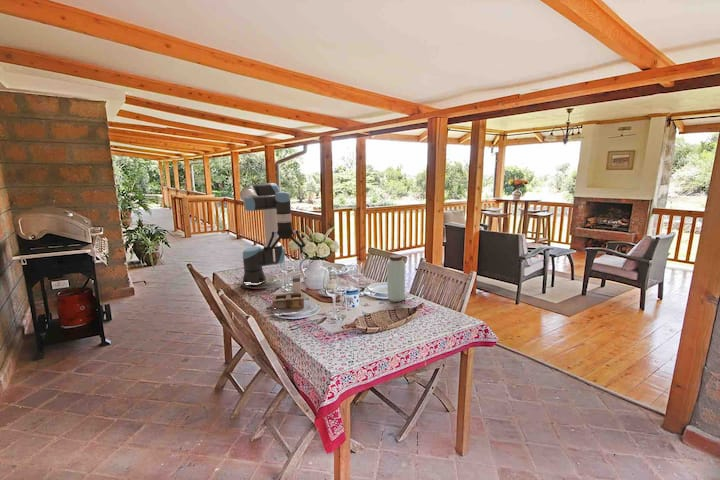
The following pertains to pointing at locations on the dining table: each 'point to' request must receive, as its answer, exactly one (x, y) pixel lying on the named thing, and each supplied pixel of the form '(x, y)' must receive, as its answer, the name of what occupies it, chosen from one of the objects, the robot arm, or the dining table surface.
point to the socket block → (288, 301)
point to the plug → (296, 284)
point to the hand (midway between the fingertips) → (287, 260)
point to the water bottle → (396, 278)
